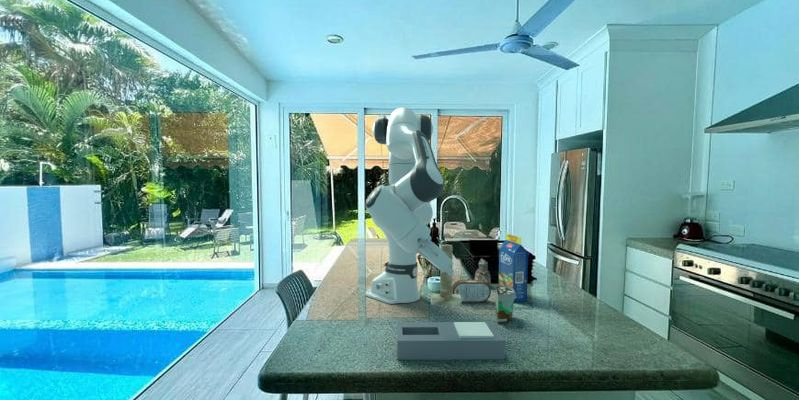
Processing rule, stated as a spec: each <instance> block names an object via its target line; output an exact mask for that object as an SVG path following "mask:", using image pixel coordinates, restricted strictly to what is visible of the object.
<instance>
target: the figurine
mask: <svg viewBox="0 0 799 400" xmlns="http://www.w3.org/2000/svg"><path fill="white" fill-rule="evenodd" d="M488 265H489V263H488V261H486V260H485V259H484V258H480V260H479V261H478V268H477V269H476V271H475V274H474V280H483V281H485V282H486V283H487V284H488V285H489V287H490V288H491V284H492V283H491V273H490V271H489V270H488V268H489V267H488Z"/></svg>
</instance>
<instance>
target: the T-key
mask: <svg viewBox="0 0 799 400" xmlns="http://www.w3.org/2000/svg"><path fill="white" fill-rule="evenodd" d="M440 249H441V250H442V251H443V252H444V253H445V254H446V255H447V256H448V257H449V258H450V259H451V260H452V261H453V244H448V243H447V244H446V243H445V244H440ZM451 268H452V269H453V265H452V266H451ZM439 271H440V273H439V275H440V276H439V277H440V278H439V285H440V287H439V293H434V294H433V293H432V294H431V293H430V304H431V306H462V302H461V296H460V294H452V286H453V274H452V275H451V276H449V275H448V274H447V273H446V272H442V271H441V270H440V269H439Z"/></svg>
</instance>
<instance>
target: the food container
mask: <svg viewBox="0 0 799 400" xmlns="http://www.w3.org/2000/svg"><path fill="white" fill-rule="evenodd" d="M515 298H516V294H515V291H514V289H513V288H511V287H508V286H504V285H499V284H495V317H496V322H497V325H504V324H505V323H506V324H509V322H510V323H511V322H512V321H513V312H514V305H515V304H514V303H515V302H514V299H515ZM506 324H505V325H506Z"/></svg>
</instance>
